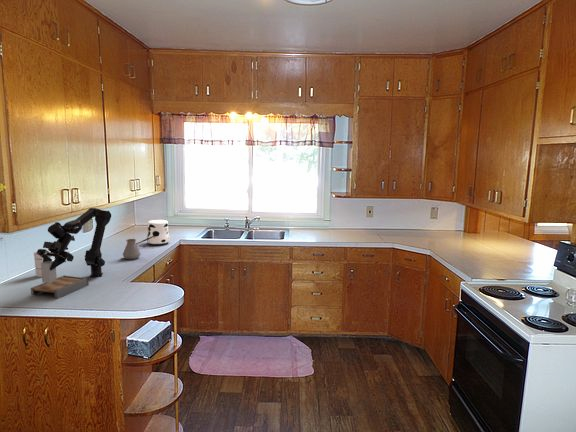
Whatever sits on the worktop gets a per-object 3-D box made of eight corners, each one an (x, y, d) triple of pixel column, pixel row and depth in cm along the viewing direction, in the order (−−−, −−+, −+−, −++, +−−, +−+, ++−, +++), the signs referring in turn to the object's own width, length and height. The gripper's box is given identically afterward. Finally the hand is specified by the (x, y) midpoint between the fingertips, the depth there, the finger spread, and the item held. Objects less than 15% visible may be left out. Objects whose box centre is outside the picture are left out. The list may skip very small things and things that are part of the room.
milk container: (174, 243, 323) (173, 221, 320) (157, 247, 308) (156, 224, 305) (159, 240, 331) (158, 218, 329) (142, 244, 317) (141, 221, 314)
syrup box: (44, 277, 231) (42, 252, 229) (35, 276, 232) (33, 252, 230) (51, 274, 237) (50, 250, 235) (43, 273, 238) (41, 249, 236)
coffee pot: (122, 260, 269) (121, 239, 266) (123, 256, 280) (122, 235, 277) (155, 258, 276) (155, 237, 273) (155, 254, 286) (155, 234, 284)
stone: (42, 282, 203) (40, 263, 201) (49, 279, 207) (48, 260, 206) (49, 283, 202) (48, 263, 200) (56, 280, 206) (55, 261, 204)
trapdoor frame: (64, 282, 224) (63, 275, 223) (88, 285, 220) (88, 278, 219) (31, 295, 203) (30, 287, 202) (57, 298, 199) (56, 291, 199)
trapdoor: (63, 283, 221) (63, 277, 220) (82, 285, 218) (81, 279, 217) (34, 294, 202) (33, 288, 202) (54, 297, 200) (53, 290, 199)
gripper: (37, 233, 207) (20, 259, 198) (67, 236, 202) (51, 263, 193) (51, 245, 216) (35, 270, 207) (80, 248, 211) (65, 274, 202)
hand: (46, 269), depth 202 cm, fingers closed on stone, 4 cm apart
